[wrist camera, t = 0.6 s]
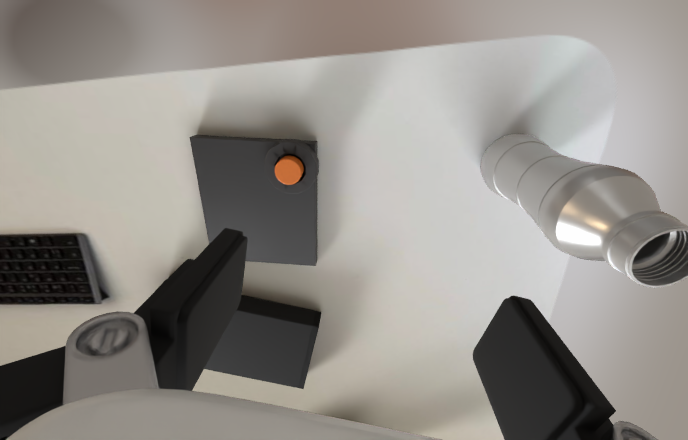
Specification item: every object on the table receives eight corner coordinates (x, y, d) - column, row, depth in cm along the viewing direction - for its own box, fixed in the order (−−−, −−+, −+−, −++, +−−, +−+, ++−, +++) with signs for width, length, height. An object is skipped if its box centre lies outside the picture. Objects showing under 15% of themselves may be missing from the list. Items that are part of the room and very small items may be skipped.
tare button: (277, 154, 32) (273, 158, 31) (303, 155, 32) (300, 159, 30) (279, 179, 33) (275, 184, 32) (304, 181, 33) (301, 185, 32)
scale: (195, 131, 34) (180, 136, 31) (320, 138, 34) (316, 143, 31) (216, 253, 41) (206, 265, 39) (319, 260, 41) (316, 273, 38)
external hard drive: (306, 373, 51) (303, 389, 48) (170, 345, 50) (159, 360, 47) (321, 311, 45) (318, 326, 42) (166, 278, 44) (153, 291, 41)
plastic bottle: (487, 198, 35) (612, 325, 17) (465, 148, 33) (584, 236, 15) (543, 171, 34) (748, 282, 16) (524, 117, 31) (740, 174, 13)
